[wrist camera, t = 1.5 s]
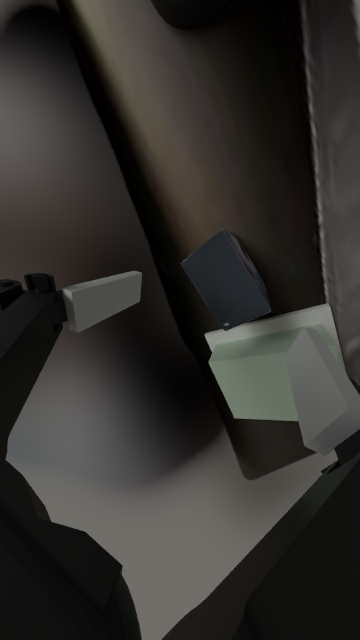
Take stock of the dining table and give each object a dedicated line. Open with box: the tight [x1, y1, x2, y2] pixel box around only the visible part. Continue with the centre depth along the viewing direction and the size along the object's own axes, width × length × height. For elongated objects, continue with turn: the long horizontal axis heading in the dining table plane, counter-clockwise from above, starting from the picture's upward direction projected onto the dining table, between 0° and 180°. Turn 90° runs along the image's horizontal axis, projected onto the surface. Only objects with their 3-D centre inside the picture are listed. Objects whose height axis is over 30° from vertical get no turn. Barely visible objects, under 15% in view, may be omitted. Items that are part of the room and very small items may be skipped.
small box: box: [181, 230, 271, 331], centre depth 23 cm, size 11×6×10 cm, turn 37°
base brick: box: [209, 324, 342, 421], centre depth 28 cm, size 13×17×6 cm
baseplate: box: [205, 303, 347, 375], centre depth 31 cm, size 18×20×1 cm
